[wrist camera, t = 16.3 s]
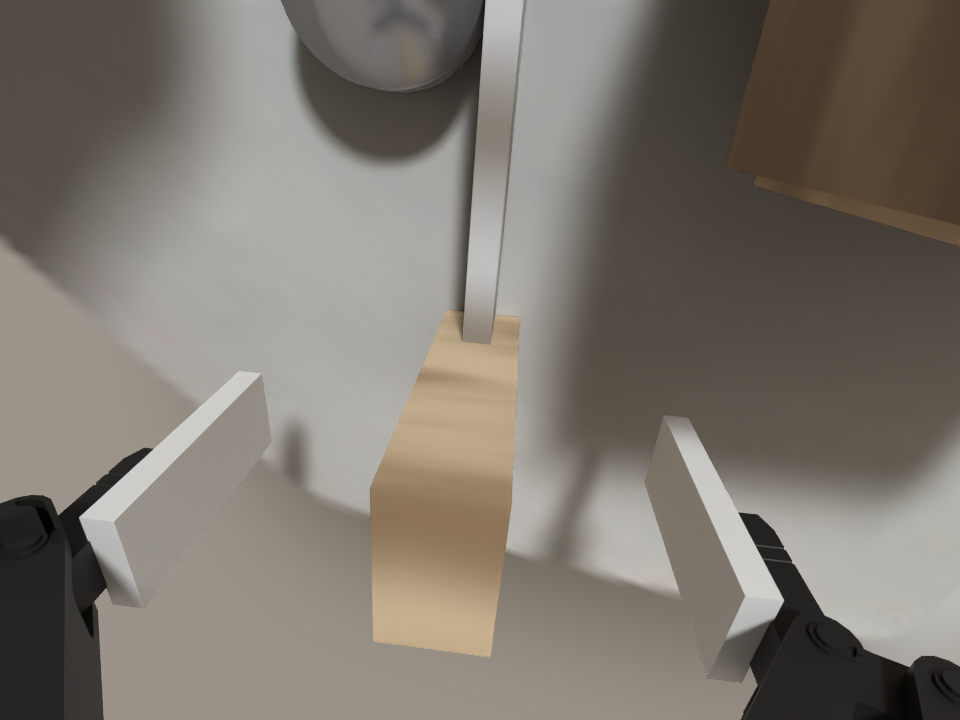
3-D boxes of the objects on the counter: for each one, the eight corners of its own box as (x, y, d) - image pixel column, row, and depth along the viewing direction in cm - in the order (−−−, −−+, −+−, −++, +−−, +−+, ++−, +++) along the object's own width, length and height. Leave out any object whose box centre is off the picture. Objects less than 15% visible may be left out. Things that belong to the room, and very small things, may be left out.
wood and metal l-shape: (507, 421, 22) (490, 657, 13) (441, 413, 23) (373, 641, 13) (570, -98, 15) (656, -552, 5) (468, -105, 15) (345, -562, 5)
